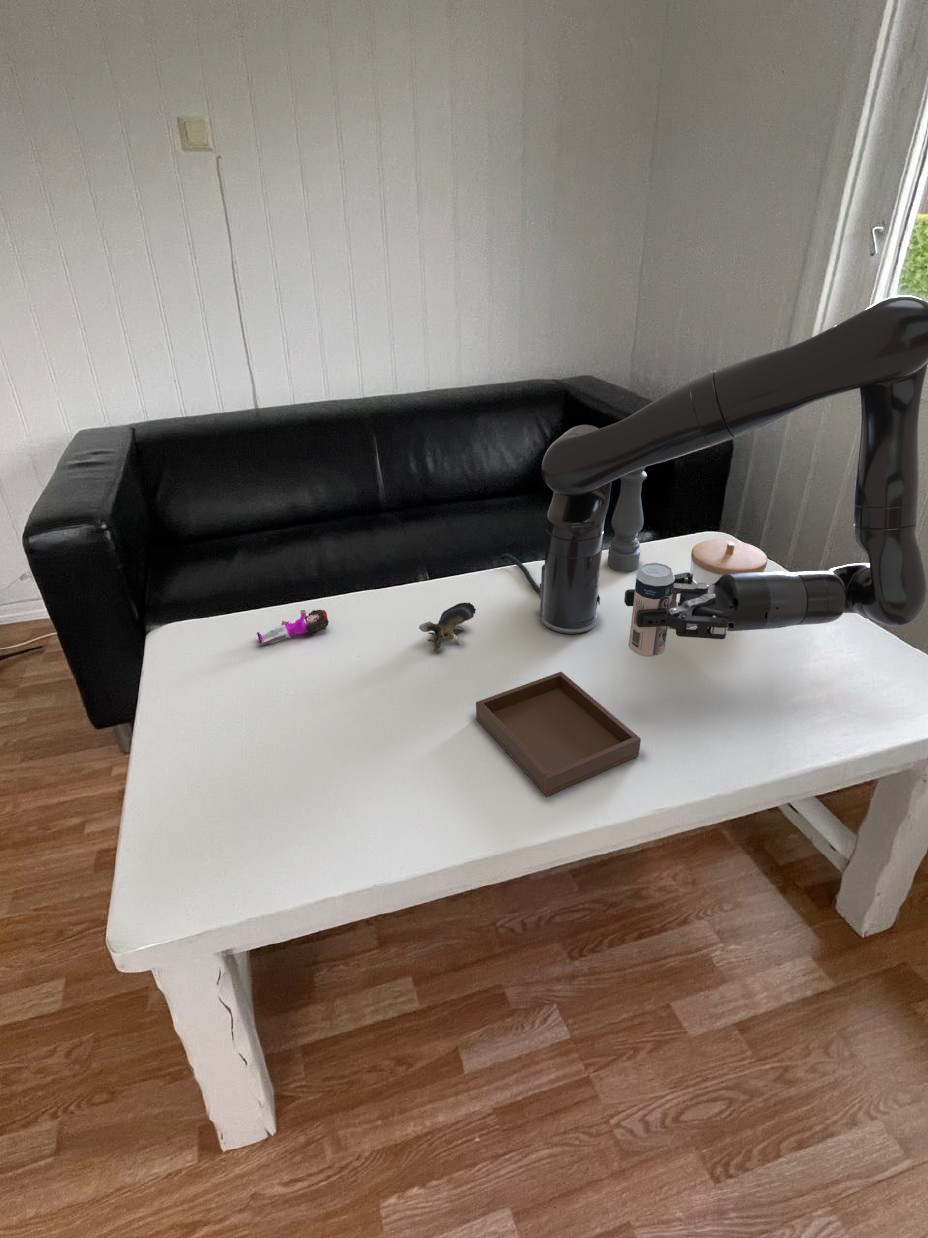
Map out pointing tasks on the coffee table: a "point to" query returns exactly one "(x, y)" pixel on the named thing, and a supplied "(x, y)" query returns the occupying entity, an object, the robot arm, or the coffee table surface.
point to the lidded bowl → (724, 560)
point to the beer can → (651, 607)
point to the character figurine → (297, 627)
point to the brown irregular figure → (449, 624)
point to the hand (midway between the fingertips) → (631, 608)
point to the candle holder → (627, 524)
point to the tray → (556, 732)
